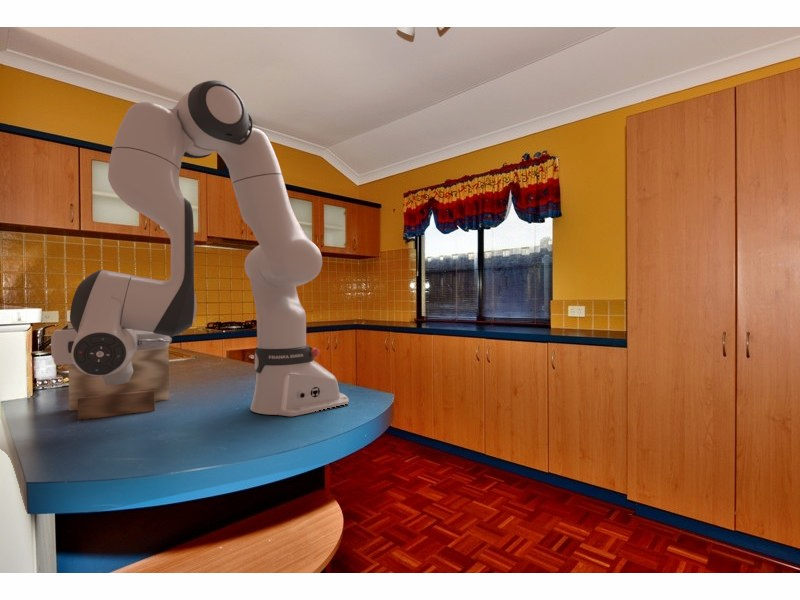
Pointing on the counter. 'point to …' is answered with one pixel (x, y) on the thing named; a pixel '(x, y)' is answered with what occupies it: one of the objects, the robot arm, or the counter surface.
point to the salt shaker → (120, 376)
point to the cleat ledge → (116, 404)
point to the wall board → (146, 376)
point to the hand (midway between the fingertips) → (117, 338)
